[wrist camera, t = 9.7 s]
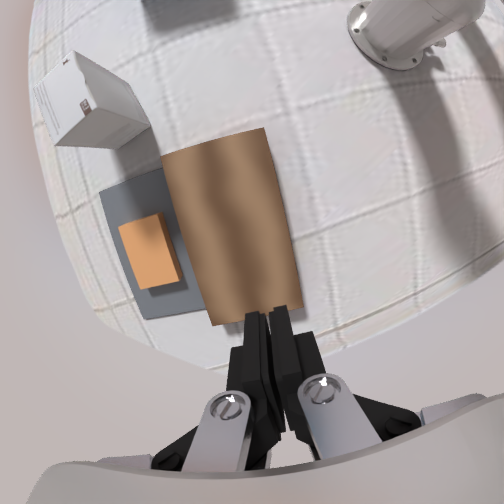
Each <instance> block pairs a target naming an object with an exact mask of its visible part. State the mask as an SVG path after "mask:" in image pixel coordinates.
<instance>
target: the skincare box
mask: <svg viewBox="0 0 504 504" xmlns="http://www.w3.org/2000/svg"><path fill="white" fill-rule="evenodd" d="M34 92H35V96H36V99H37V102H38V105H39V108H40V110H41V113H42V116H43V119H44V122H45V124H46V127H47V130H48V132H49V135H50V137H51V140H52V142H53V145H54V146H73V147H93V148H107V149H119V148H120V147H122V146H123V145H124V144H126V143H127V142H128V141H130V140H131V139H133V138H134V137H136V136H137V135H138V134H140V133H141V132H143V131H144V130H146V129H147V128H149V127H150V126H151V125H150V123H149V121H148V119H147V117H146V115H145V113H144V111H143V109H142V107H141V106H140V104H139V102H138V100H137V98H136V96H135V95H134V93H133V91H132V90H131V88H130V85H129V83H127V82H125V81H124V80H122V79H121V78H119V77H118V76H116V75H114V74H113V73H111V72H110V71H108V70H106V69H105V68H103V67H101V66H100V65H98V64H96V63H95V62H93V61H91V60H90V59H88V58H86V57H85V56H83V55H81V54H79V53H78V52H76V51H74V50H72V51H71V52H70V53H69V54H68V55H67V56H66V57H64V58H63V59H62V60H61V61H60V62H59V63H58V64H57V65H56V66H55V67H54V68H53V69H52V70H51V71H50V72H49V73H48V74H47V75H46V76H45V77H44V78H43V79H42V80H41V81H40V82H39V83H38V84H37V85H36V86H35V87H34Z"/></svg>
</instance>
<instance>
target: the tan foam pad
mask: <svg viewBox="0 0 504 504" xmlns="http://www.w3.org/2000/svg"><path fill="white" fill-rule="evenodd" d="M118 229H119V232H120V235H121V238H122V241H123V244H124V247H125V250H126V253H127V255H128V258H129V261H130V264H131V267H132V269H133V272H134V274H135V277H136V280H137V282H138V285H139V287H140V290H141V289H145V288H150V287H154V286H159V285H163V284H168V283H172V282H177V281H180V279H181V277H182V276H183V274H182V271H181V269H180V266H179V263H178V260H177V257H176V254H175V251H174V248H173V245H172V241H171V238H170V235H169V232H168V229H167V226H166V222H165V219H164V216H163V212H160V213H157V214H154V215H150V216H147V217H144V218H141V219H138V220H135V221H132V222H129V223H126V224H124V225H121V226H119V227H118Z"/></svg>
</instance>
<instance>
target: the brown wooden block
mask: <svg viewBox="0 0 504 504" xmlns="http://www.w3.org/2000/svg"><path fill="white" fill-rule="evenodd" d="M161 161H162V165H163V169H164V173H165V177H166V181H167V185H168V188H169V192H170V196H171V199H172V203H173V206H174V210H175V213H176V217H177V220H178V224H179V227H180V230H181V234H182V237H183V240H184V243H185V247H186V250H187V253H188V256H189V259H190V262H191V265H192V268H193V271H194V275H195V278H196V280H197V283H198V286H199V289H200V292H201V295H202V298H203V301H204V304H205V307H206V309H207V312H208V315H209V318H210V320H211V323H212V326H216V325H222V324H227V323H233V322H238V321H243V320H245V313H249V312H254V311H259V312H260V314H262V313H265V315H266V316H267V315H269V312H271V311H274V310H273V307H277V306H282V305H287V309H288V311H290V310H294V309H298V308H302V307H304V305H303V300H302V295H301V289H300V284H299V279H298V274H297V269H296V264H295V259H294V254H293V249H292V244H291V240H290V235H289V230H288V226H287V221H286V217H285V212H284V208H283V203H282V199H281V195H280V190H279V186H278V182H277V178H276V173H275V169H274V165H273V161H272V157H271V153H270V149H269V145H268V141H267V137H266V133H265V130H264V127H263V128H259V129H254V130H250V131H246V132H242V133H238V134H234V135H230V136H226V137H222V138H218V139H215V140H211V141H208V142H204V143H201V144H197V145H194V146H191V147H188V148H185V149H181V150H178V151H175V152H172V153H169V154H166V155H163V156H161Z"/></svg>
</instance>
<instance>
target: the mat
mask: <svg viewBox="0 0 504 504" xmlns="http://www.w3.org/2000/svg"><path fill="white" fill-rule="evenodd" d="M99 194H100V198H101V202H102V205H103V209H104V212H105V216H106V219H107V222H108V226H109V229H110V232H111V235H112V238H113V241H114V244H115V247H116V250H117V253H118V256H119V259H120V261H121V264H122V267H123V270H124V272H125V275H126V278H127V280H128V283H129V285H130V288H131V290H132V293H133V295H134V298H135V300H136V302H137V305H138V307H139V309H140V312H141V314H142V316H143V318H144V319H148V318H155V317H161V316H166V315H172V314H178V313H183V312H189V311H194V310H200V309H205V308H206V307H205V304H204V301H203V298H202V295H201V292H200V289H199V286H198V283H197V280H196V278H195V275H194V271H193V268H192V265H191V262H190V259H189V256H188V253H187V250H186V247H185V243H184V240H183V237H182V234H181V230H180V227H179V224H178V220H177V217H176V213H175V210H174V206H173V203H172V199H171V196H170V192H169V188H168V185H167V181H166V177H165V173H164V169H163V168H161V169H158V170H155V171H152V172H150V173H147V174H144V175H141V176H139V177H136V178H133V179H131V180H128V181H125V182H123V183H120V184H118V185H115V186H113V187H110V188H108V189H105V190H103V191H101V192H99ZM160 212H163V216H164V219H165V222H166V226H167V229H168V232H169V235H170V238H171V241H172V245H173V248H174V251H175V254H176V257H177V260H178V263H179V266H180V269H181V271H182V274H183V276H182V277H181V279H180V281H177V282H172V283H168V284H163V285H159V286H154V287H150V288H145V289H141V290H140V287H139V285H138V282H137V280H136V277H135V274H134V272H133V269H132V267H131V264H130V261H129V258H128V255H127V253H126V250H125V247H124V244H123V241H122V238H121V235H120V232H119V229H118V227H119V226H121V225H124V224H126V223H129V222H132V221H135V220H138V219H141V218H144V217H147V216H150V215H154V214H157V213H160Z"/></svg>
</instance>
